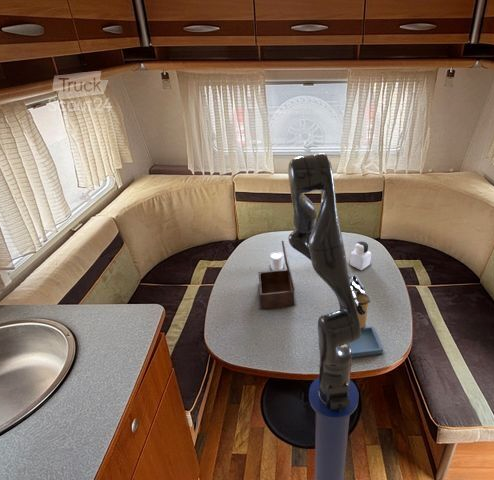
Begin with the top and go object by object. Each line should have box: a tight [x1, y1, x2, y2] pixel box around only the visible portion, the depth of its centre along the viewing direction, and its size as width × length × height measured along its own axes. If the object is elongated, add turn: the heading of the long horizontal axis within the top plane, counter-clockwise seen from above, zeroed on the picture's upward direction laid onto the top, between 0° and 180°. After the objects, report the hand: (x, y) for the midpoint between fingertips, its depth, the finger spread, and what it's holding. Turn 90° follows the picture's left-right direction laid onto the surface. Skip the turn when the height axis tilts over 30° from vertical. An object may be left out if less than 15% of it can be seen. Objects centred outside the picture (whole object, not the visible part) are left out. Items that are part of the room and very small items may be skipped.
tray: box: [348, 325, 384, 358], centre depth 130 cm, size 12×16×2 cm
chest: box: [258, 268, 295, 310], centre depth 153 cm, size 14×16×7 cm
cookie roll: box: [355, 293, 370, 329], centre depth 126 cm, size 5×5×12 cm
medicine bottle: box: [349, 240, 372, 271], centre depth 170 cm, size 7×7×12 cm
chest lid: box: [281, 240, 296, 292], centre depth 147 cm, size 15×16×1 cm
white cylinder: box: [268, 251, 285, 271], centre depth 170 cm, size 7×7×7 cm
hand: (365, 308), depth 124 cm, fingers closed on cookie roll, 5 cm apart
